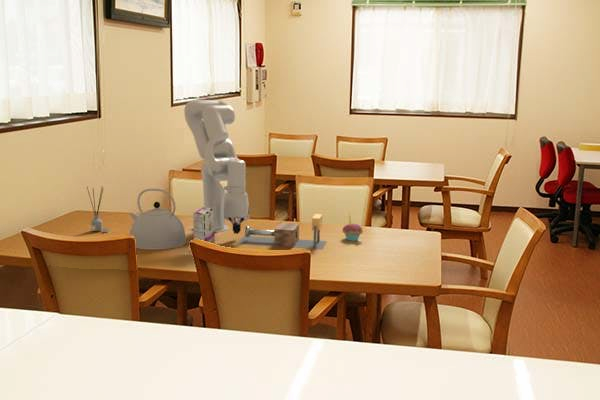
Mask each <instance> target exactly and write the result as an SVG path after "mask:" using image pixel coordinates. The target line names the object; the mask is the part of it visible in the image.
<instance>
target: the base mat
mask: <svg viewBox="0 0 600 400" xmlns="http://www.w3.org/2000/svg"><path fill="white" fill-rule="evenodd" d="M313 241H314V239H312V240H311V239H300V238H299V240H298V241H297V243H296V244H295V246H294V247H291V248H294V249H295V248H296V249H307V250H308V249H310V250H324V248H325V246H326V244H327V243H328V241H327V240H320V242H317V240H316V248H313ZM235 245H252V246H264V247H268V246H269V247H275V246H274V237H270V236H254V235H250V237H246V236H245V235H243V236H242V237H241V238H240V239H239V240H237V242H236V243H235ZM276 247H280V248H285V247H284V246H276Z"/></svg>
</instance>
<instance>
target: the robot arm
mask: <svg viewBox="0 0 600 400" xmlns="http://www.w3.org/2000/svg"><path fill="white" fill-rule="evenodd" d="M183 110H184V113H183V114H184V119H185V122H186V124H187V126H188V128H189V130H190V132H191V134H192V135H193V139H194V142H195V145H196V148H197V152H198V154H199V157H200V158H201V159H202V160H204V162H202V164H201V166H200V173H201V179H202V187H203V189H202V190H203V191H202V192H203V207H210V208H214V233H222V232H225V231H228V230H229V228H230V227H229V226H228V225H227V224H226V220H229V221H230V223H231V224H232V232H233V234H234V235H235V234H236V235H237V234H239V233H240V232H241V225H242V223H243V222H244V221H249V219H250V215H249V214H250V202H249V195H248V192H247V191H246V187H247V185H246V184H247V181H246V175H247V174H246V173H247V172H246V170H247V169H246V168H247V167H246V166H247V165H246V162H245V161H244V160H242V159H240V158H238V156H237V152H236V150H235V146H234V144H233V142H232V141H231V139H230V138H229V132H228V129H227V127H226V125H231V124H233V123H234V122H235V119H236V114H235V113H236V112H235V110H234V108H232V106H231V105H230V104H228V103H227V102H224V101H223V100H220V99H195V100H191V101H188V102H187V103H186V104H185V106H184V109H183ZM222 181H227V184H226V186H223V185H222V183H221V182H222Z"/></svg>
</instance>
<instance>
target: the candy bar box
mask: <svg viewBox="0 0 600 400" xmlns="http://www.w3.org/2000/svg"><path fill="white" fill-rule="evenodd" d="M194 238H197V239H200V240H204V241H207V242H211V243H214V244H215V241H216V240H215V232H214V208H210V207H204V206H203V207H201V208H199V209H198V210H196V211H195V212H193V239H194Z"/></svg>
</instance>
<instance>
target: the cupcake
mask: <svg viewBox="0 0 600 400" xmlns="http://www.w3.org/2000/svg"><path fill="white" fill-rule="evenodd" d="M348 220H349V221H348V224H346V225H344V226H343V227H342V233H344V236H345V239H346V240H347V241H353V242H355V241H356V242H358V241H359V238H360V236H361V234H363V232H364V230H363V227H361V226H360V225H359V224H356V223H352V219H351V214H348Z"/></svg>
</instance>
